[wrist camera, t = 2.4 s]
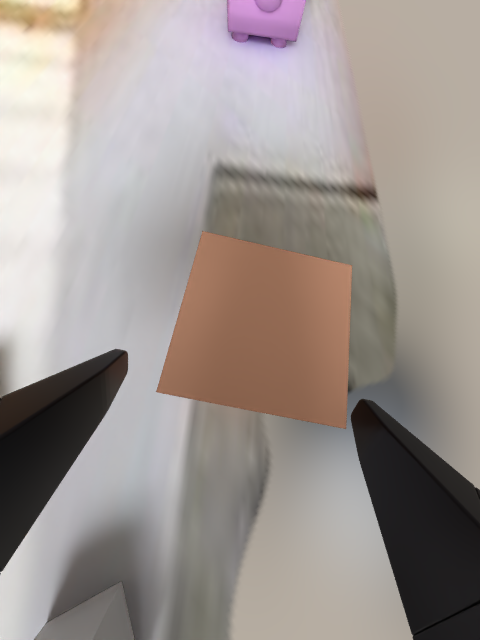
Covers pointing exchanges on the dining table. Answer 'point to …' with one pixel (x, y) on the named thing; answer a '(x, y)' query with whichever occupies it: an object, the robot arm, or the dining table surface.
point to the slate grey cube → (93, 619)
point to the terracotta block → (263, 332)
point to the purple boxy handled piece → (265, 19)
